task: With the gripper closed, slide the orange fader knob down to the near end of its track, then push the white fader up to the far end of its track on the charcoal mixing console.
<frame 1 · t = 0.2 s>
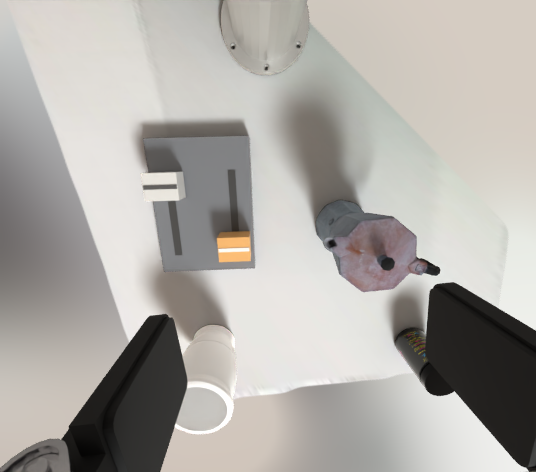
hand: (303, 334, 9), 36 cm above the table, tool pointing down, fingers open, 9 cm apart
white fader: (164, 186, 38), point 5 cm above the table, slide at 0.0 cm
console: (206, 205, 44), on the table
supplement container: (408, 339, 54), on the table
moka pot: (341, 223, 46), on the table
jar: (214, 340, 52), on the table
orange fader: (235, 246, 41), point 5 cm above the table, slide at 10.0 cm
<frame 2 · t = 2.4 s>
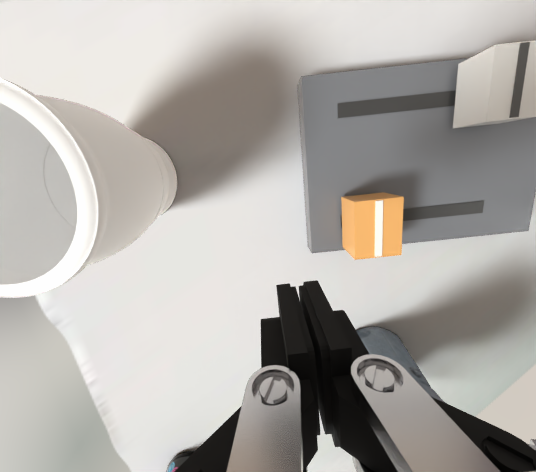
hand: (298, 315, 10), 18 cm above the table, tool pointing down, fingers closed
white fader: (497, 88, 20), point 5 cm above the table, slide at 0.0 cm
console: (409, 160, 26), on the table
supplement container: (191, 464, 37), on the table
moka pot: (368, 356, 33), on the table
jar: (138, 179, 26), on the table
orange fader: (370, 224, 23), point 5 cm above the table, slide at 10.0 cm
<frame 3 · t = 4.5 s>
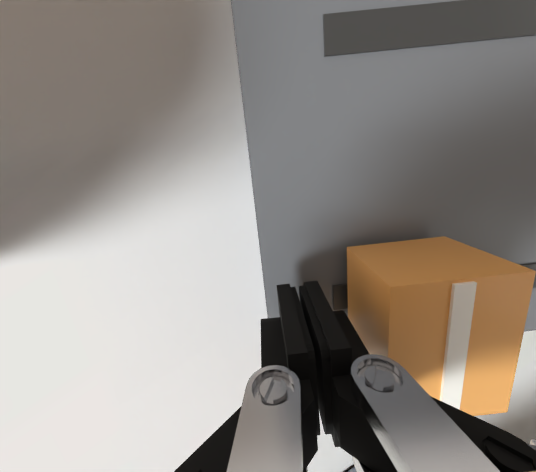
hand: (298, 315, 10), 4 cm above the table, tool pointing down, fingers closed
console: (475, 163, 12), on the table
orange fader: (419, 321, 9), point 5 cm above the table, slide at 9.5 cm, touching gripper
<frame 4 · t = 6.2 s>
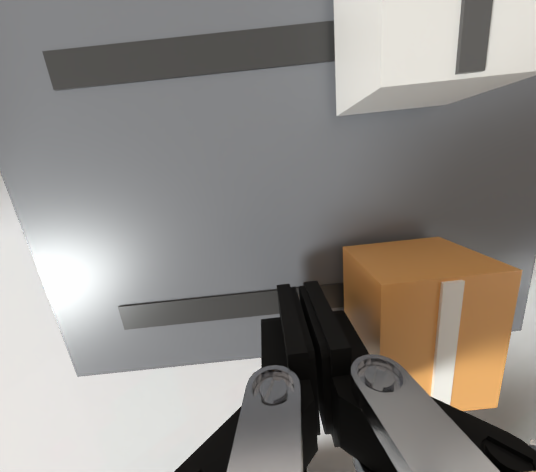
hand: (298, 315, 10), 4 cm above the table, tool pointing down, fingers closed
console: (281, 185, 13), on the table
orange fader: (412, 319, 9), point 5 cm above the table, slide at -0.1 cm, touching gripper
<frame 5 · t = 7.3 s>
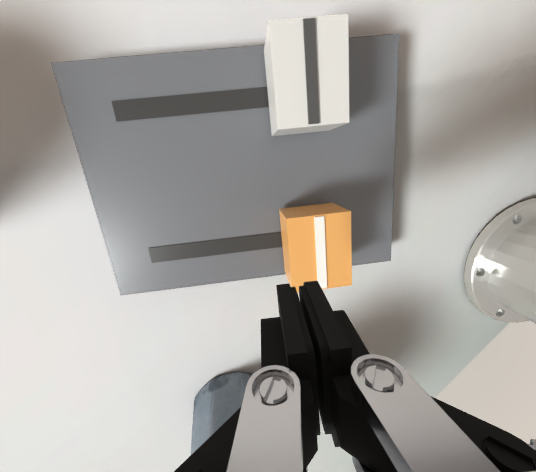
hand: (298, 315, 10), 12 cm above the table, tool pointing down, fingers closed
white fader: (304, 84, 15), point 5 cm above the table, slide at 0.0 cm
console: (246, 175, 21), on the table
moka pot: (237, 405, 27), on the table
orange fader: (313, 245, 18), point 5 cm above the table, slide at -0.1 cm
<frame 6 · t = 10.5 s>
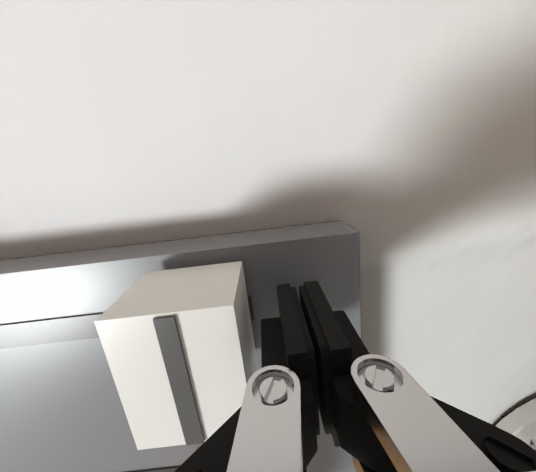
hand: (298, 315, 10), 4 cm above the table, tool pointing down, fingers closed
white fader: (195, 346, 9), point 5 cm above the table, slide at 0.1 cm, touching gripper
console: (167, 368, 15), on the table
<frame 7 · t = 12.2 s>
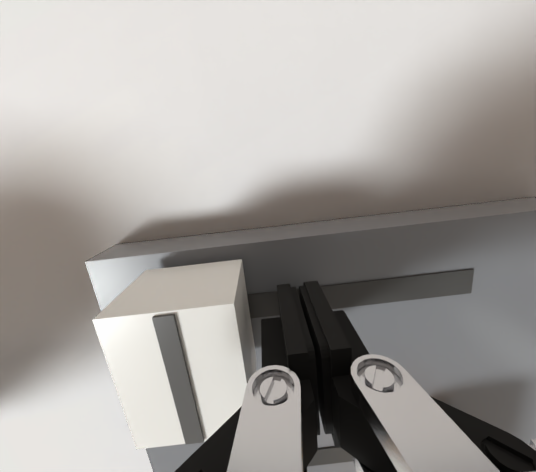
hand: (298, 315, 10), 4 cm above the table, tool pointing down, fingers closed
white fader: (194, 345, 9), point 5 cm above the table, slide at 10.3 cm, touching gripper
console: (331, 348, 15), on the table
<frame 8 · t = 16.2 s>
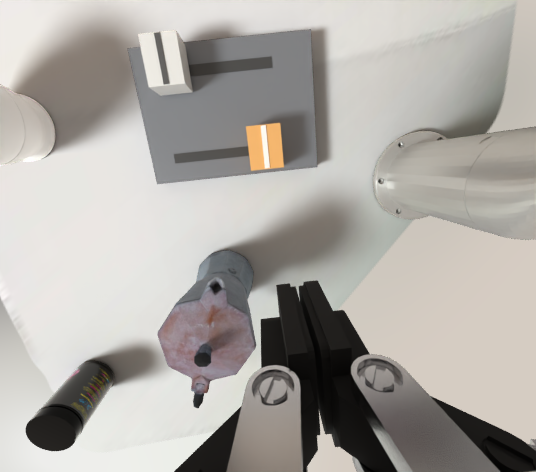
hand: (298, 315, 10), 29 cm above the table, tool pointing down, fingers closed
white fader: (167, 65, 29), point 5 cm above the table, slide at 10.1 cm
console: (231, 115, 35), on the table
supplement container: (97, 373, 46), on the table
moka pot: (227, 277, 41), on the table
jar: (26, 129, 35), on the table
orange fader: (264, 148, 32), point 5 cm above the table, slide at -0.1 cm
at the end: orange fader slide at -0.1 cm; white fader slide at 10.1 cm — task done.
